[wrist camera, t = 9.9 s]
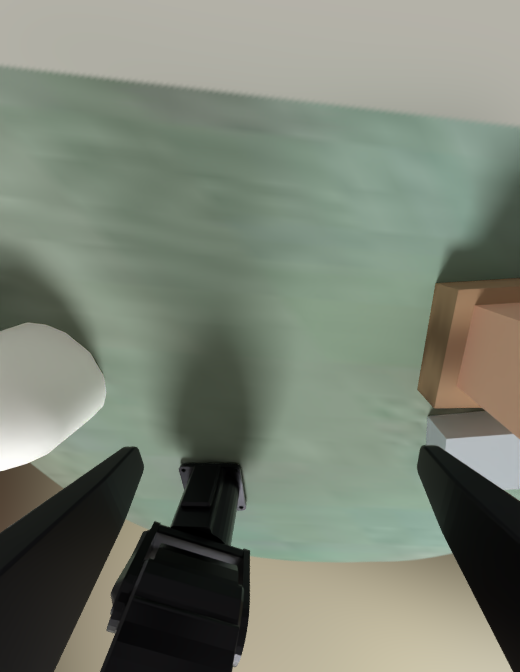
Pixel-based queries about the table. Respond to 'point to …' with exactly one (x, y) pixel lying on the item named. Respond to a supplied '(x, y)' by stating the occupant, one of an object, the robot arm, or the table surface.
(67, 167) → the table surface
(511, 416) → the terracotta block
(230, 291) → the table surface
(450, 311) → the walnut block
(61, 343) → the teardrop
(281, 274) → the table surface
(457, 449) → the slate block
